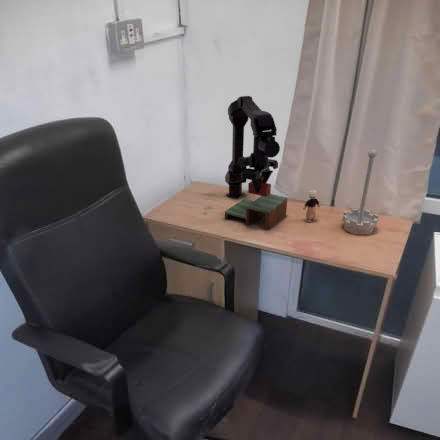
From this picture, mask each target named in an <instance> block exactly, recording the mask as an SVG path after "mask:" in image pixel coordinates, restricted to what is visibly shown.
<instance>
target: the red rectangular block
mask: <svg viewBox="0 0 440 440" xmlns="http://www.w3.org/2000/svg"><path fill="white" fill-rule="evenodd" d="M247 185H248V186H247V187H248V189H247V193H248V194H251V195H256V196H259V197H260V196H265V197H266V196H268V195H270V194H271V191H272V190H271V189H272V188H271V187H272V184H271V183H268V182H267V183H263V182H262V184H261V187H260V190H259V192H258V193H256V192H255V189H254V185H253V182H252V180H250V182H248V184H247Z"/></svg>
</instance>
